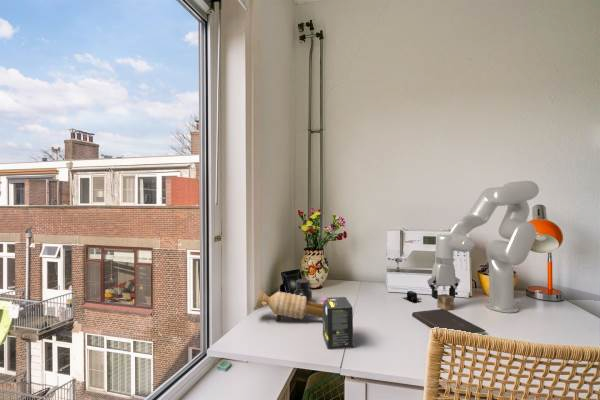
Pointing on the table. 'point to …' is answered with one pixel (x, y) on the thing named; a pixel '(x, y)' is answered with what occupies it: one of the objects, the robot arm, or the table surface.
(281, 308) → the tan long ribbed piece
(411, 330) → the table surface
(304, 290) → the ink bottle
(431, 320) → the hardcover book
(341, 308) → the tampon box
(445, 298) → the walnut block
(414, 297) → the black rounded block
